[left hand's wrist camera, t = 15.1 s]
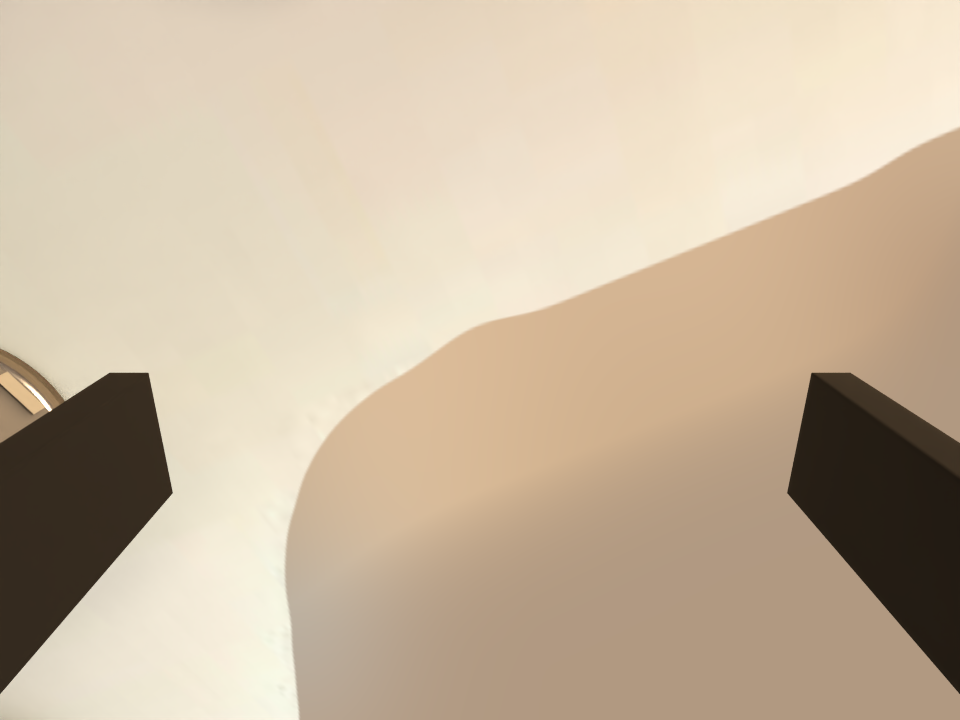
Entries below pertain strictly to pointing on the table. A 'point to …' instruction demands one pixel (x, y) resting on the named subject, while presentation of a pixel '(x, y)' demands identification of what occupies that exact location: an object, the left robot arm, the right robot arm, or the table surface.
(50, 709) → the table surface
